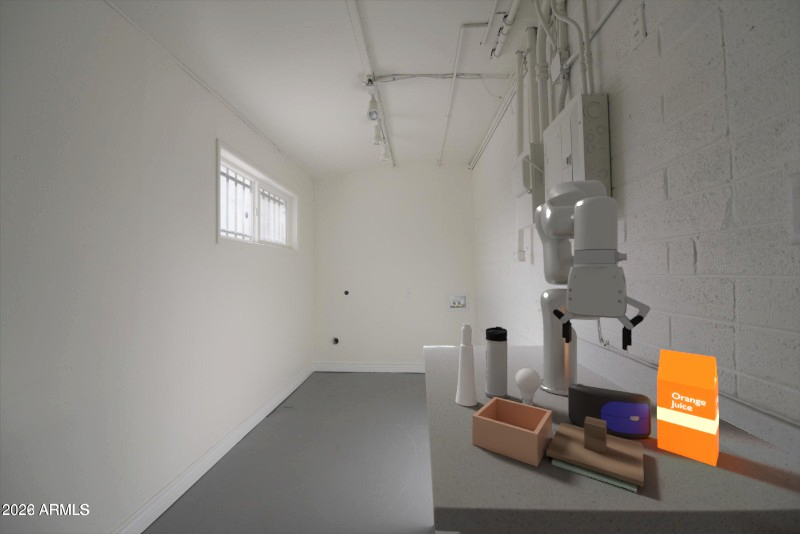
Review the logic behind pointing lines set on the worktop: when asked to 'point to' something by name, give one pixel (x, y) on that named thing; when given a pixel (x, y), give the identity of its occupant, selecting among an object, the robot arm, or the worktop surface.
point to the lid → (598, 450)
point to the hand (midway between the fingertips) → (595, 345)
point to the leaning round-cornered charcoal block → (611, 410)
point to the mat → (594, 474)
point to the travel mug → (496, 362)
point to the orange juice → (688, 405)
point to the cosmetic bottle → (466, 370)
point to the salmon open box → (513, 429)
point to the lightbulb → (527, 384)
